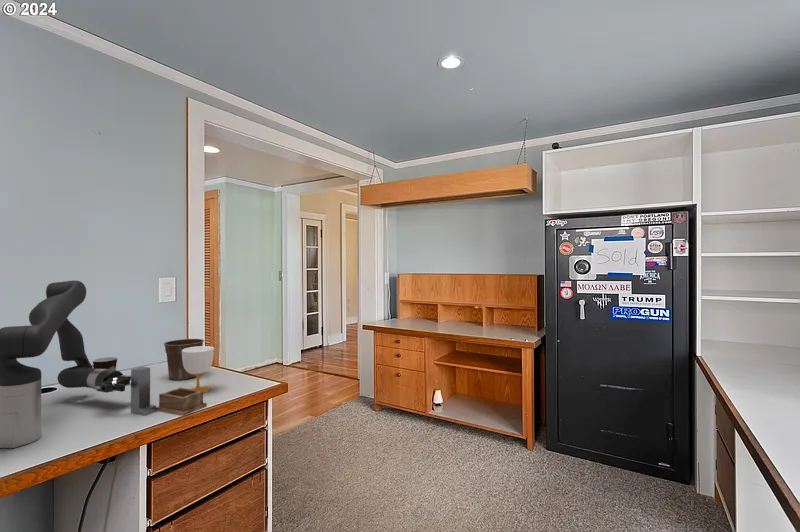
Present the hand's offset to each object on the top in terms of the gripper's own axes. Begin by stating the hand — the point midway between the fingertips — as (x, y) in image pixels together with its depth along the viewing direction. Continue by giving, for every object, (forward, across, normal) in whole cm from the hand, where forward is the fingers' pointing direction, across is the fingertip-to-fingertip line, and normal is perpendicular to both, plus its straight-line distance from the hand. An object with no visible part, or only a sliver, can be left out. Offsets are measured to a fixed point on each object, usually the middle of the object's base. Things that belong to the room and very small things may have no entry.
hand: (136, 384), depth 138 cm
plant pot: (-21, +37, +9) cm, 44 cm away
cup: (+2, +24, +9) cm, 26 cm away
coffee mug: (-45, +17, +9) cm, 49 cm away
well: (+13, +7, +9) cm, 17 cm away
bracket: (+4, 0, +9) cm, 10 cm away
